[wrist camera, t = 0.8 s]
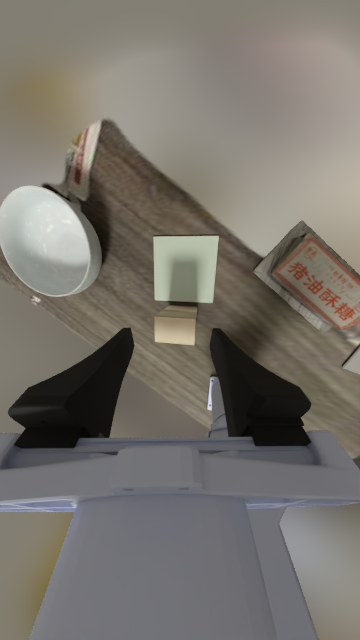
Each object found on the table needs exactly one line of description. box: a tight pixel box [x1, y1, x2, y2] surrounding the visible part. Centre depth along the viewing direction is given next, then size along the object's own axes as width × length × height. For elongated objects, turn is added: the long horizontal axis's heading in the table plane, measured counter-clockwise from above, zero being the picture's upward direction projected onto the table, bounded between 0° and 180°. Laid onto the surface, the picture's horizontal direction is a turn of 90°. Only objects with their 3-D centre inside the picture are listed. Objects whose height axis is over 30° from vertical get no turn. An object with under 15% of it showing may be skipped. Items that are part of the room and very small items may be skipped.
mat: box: [154, 236, 219, 303], centre depth 28 cm, size 12×12×1 cm
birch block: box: [155, 305, 197, 345], centre depth 26 cm, size 4×6×10 cm, turn 88°
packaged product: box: [253, 221, 360, 333], centre depth 24 cm, size 18×5×10 cm
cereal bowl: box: [0, 185, 102, 296], centre depth 27 cm, size 17×17×7 cm
